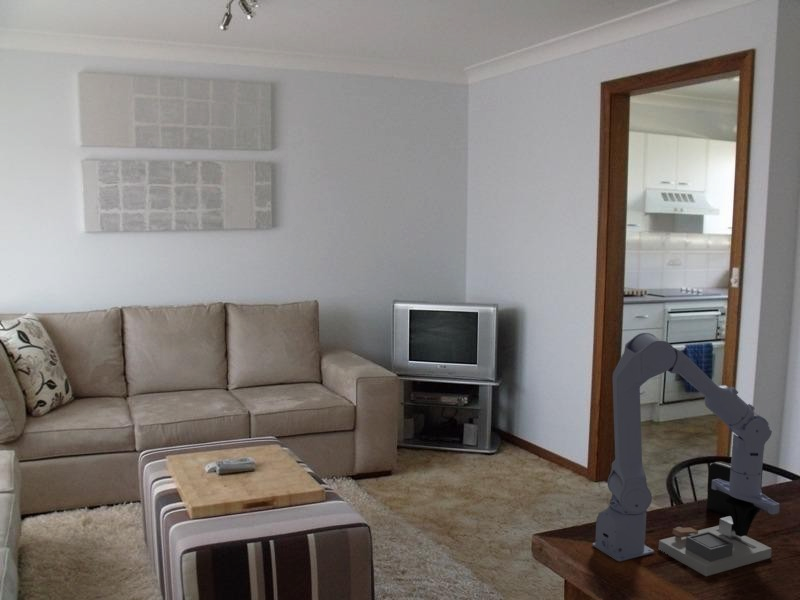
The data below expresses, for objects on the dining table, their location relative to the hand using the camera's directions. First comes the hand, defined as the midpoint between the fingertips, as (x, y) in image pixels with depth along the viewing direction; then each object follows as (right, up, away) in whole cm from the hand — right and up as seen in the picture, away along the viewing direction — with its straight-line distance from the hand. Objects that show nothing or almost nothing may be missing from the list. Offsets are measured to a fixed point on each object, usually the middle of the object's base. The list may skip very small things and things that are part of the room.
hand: (741, 534), depth 151 cm
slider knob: (-1, -1, +3) cm, 3 cm away
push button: (-9, -2, -5) cm, 10 cm away
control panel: (-6, -4, -1) cm, 7 cm away
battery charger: (+5, -1, +20) cm, 20 cm away
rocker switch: (-11, 0, 0) cm, 11 cm away
